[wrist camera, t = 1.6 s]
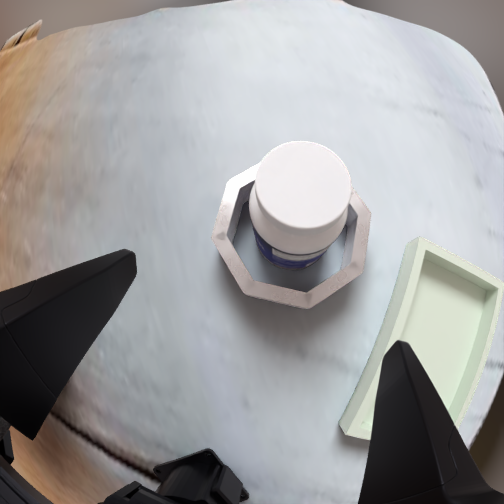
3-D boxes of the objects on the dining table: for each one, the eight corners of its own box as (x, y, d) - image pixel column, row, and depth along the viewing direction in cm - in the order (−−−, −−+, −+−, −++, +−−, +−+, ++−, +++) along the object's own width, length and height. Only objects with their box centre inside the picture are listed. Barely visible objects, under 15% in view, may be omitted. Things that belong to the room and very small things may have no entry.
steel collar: (269, 330, 21) (268, 334, 18) (200, 215, 23) (190, 202, 20) (380, 256, 22) (395, 248, 19) (307, 155, 24) (311, 136, 21)
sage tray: (433, 441, 17) (446, 451, 15) (338, 423, 19) (345, 434, 17) (489, 286, 20) (504, 282, 18) (406, 243, 22) (419, 236, 19)
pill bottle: (256, 201, 23) (246, 130, 14) (325, 202, 23) (355, 134, 13) (254, 271, 22) (241, 239, 12) (327, 271, 22) (369, 241, 12)
